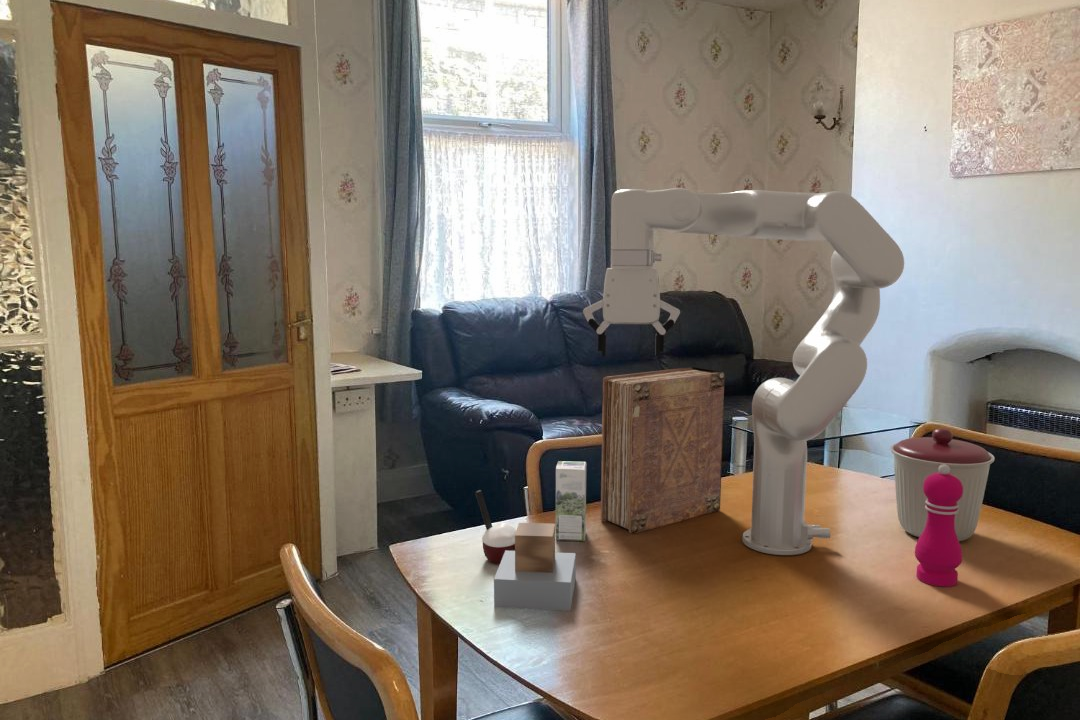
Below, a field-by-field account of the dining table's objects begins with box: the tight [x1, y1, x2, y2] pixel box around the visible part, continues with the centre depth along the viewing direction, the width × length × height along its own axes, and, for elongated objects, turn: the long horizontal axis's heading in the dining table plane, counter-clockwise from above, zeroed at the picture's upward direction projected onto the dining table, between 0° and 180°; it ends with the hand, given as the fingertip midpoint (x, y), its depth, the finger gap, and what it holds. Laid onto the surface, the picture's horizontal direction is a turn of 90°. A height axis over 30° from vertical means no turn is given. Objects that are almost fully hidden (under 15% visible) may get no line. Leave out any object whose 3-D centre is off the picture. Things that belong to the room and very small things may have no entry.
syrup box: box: [555, 460, 587, 542], centre depth 157 cm, size 6×6×14 cm
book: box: [600, 366, 726, 535], centre depth 168 cm, size 25×9×30 cm, turn 124°
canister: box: [889, 427, 996, 542], centre depth 158 cm, size 18×18×21 cm
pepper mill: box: [914, 464, 963, 588], centre depth 136 cm, size 7×7×20 cm
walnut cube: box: [515, 522, 556, 573], centre depth 132 cm, size 6×6×6 cm
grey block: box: [493, 550, 577, 612], centre depth 133 cm, size 12×12×5 cm
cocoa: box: [475, 489, 517, 565], centre depth 146 cm, size 10×6×12 cm, turn 36°
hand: (630, 355), depth 147 cm, fingers open, 9 cm apart
